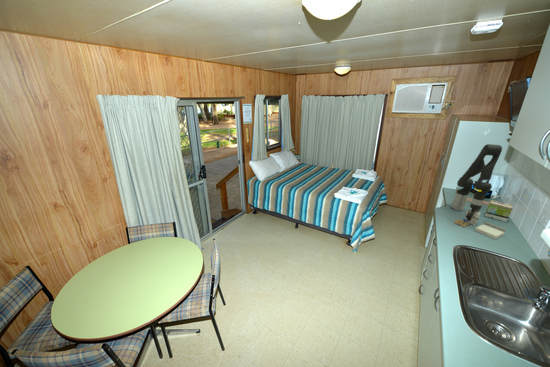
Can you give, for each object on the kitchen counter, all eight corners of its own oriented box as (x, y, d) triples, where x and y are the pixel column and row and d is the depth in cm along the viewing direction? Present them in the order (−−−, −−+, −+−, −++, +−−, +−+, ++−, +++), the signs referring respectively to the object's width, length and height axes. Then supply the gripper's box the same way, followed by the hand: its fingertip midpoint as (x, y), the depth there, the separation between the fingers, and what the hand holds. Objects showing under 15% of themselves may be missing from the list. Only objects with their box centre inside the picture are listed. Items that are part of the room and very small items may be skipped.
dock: (474, 230, 187) (476, 225, 185) (483, 226, 192) (485, 221, 190) (495, 239, 175) (497, 233, 173) (503, 234, 181) (506, 229, 179)
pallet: (453, 223, 199) (454, 221, 198) (458, 220, 202) (459, 219, 201) (463, 227, 192) (464, 225, 191) (468, 225, 195) (469, 223, 194)
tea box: (484, 216, 208) (490, 203, 203) (484, 212, 215) (490, 199, 209) (506, 222, 198) (512, 208, 193) (506, 217, 205) (512, 204, 200)
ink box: (462, 220, 202) (466, 209, 198) (465, 219, 204) (469, 208, 199) (473, 225, 195) (478, 213, 190) (476, 224, 197) (481, 212, 192)
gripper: (475, 200, 198) (470, 215, 204) (467, 203, 192) (461, 219, 198) (486, 203, 192) (480, 219, 198) (477, 206, 186) (471, 223, 192)
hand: (470, 219), depth 198 cm, fingers open, 7 cm apart
